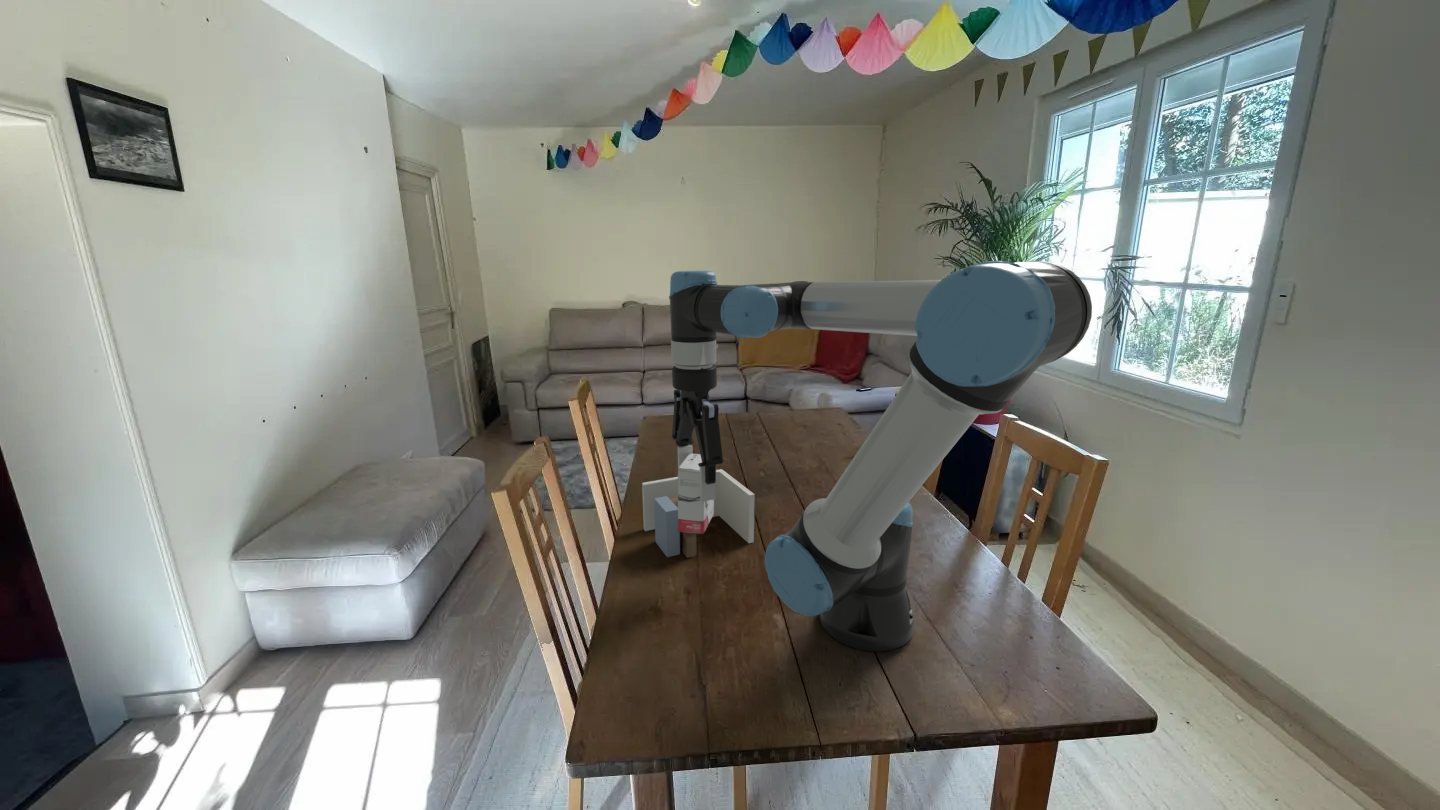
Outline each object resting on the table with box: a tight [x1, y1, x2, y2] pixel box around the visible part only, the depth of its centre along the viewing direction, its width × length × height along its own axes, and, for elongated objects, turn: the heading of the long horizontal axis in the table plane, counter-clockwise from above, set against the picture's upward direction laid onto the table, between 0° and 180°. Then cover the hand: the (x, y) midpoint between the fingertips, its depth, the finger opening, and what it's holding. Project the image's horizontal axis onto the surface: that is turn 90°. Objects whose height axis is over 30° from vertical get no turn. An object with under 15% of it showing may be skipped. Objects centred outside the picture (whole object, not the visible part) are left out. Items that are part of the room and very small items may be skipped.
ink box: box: [677, 453, 714, 535], centre depth 104 cm, size 9×5×12 cm, turn 168°
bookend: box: [669, 496, 697, 559], centre depth 121 cm, size 10×2×9 cm, turn 26°
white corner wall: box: [641, 468, 756, 558], centre depth 125 cm, size 16×19×11 cm
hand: (696, 489), depth 104 cm, fingers closed on ink box, 9 cm apart
